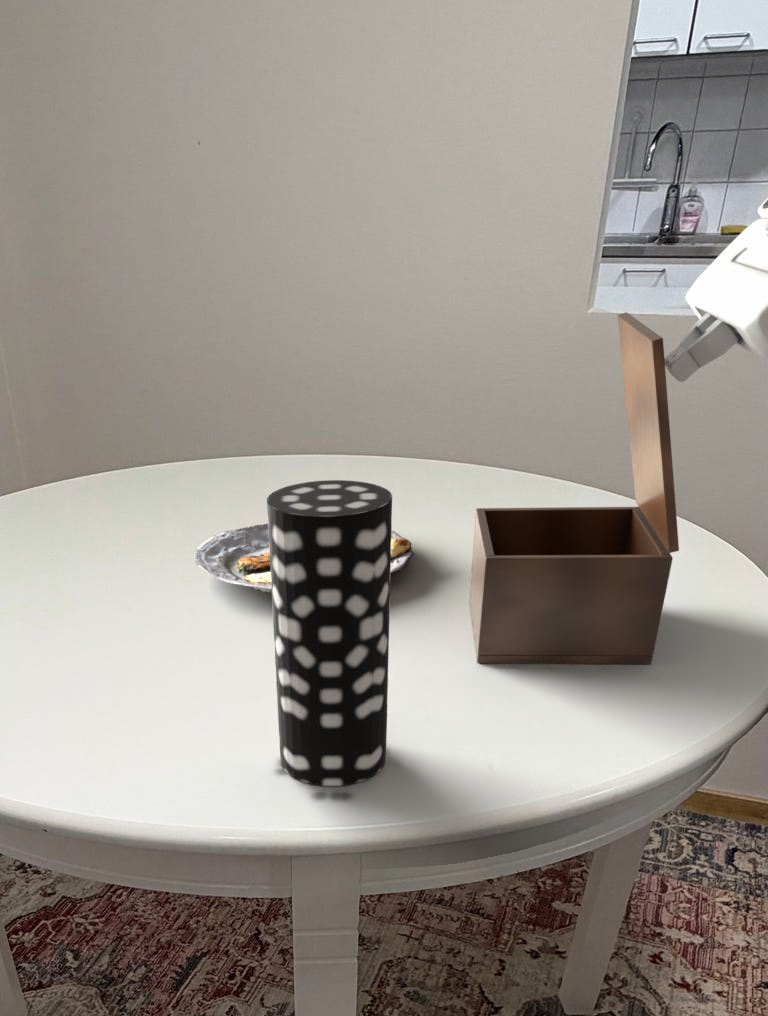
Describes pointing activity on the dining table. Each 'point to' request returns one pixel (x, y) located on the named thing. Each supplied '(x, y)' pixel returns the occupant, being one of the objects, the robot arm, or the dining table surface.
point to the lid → (649, 426)
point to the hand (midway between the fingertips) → (670, 373)
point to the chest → (566, 585)
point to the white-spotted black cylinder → (331, 627)
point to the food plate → (263, 556)
